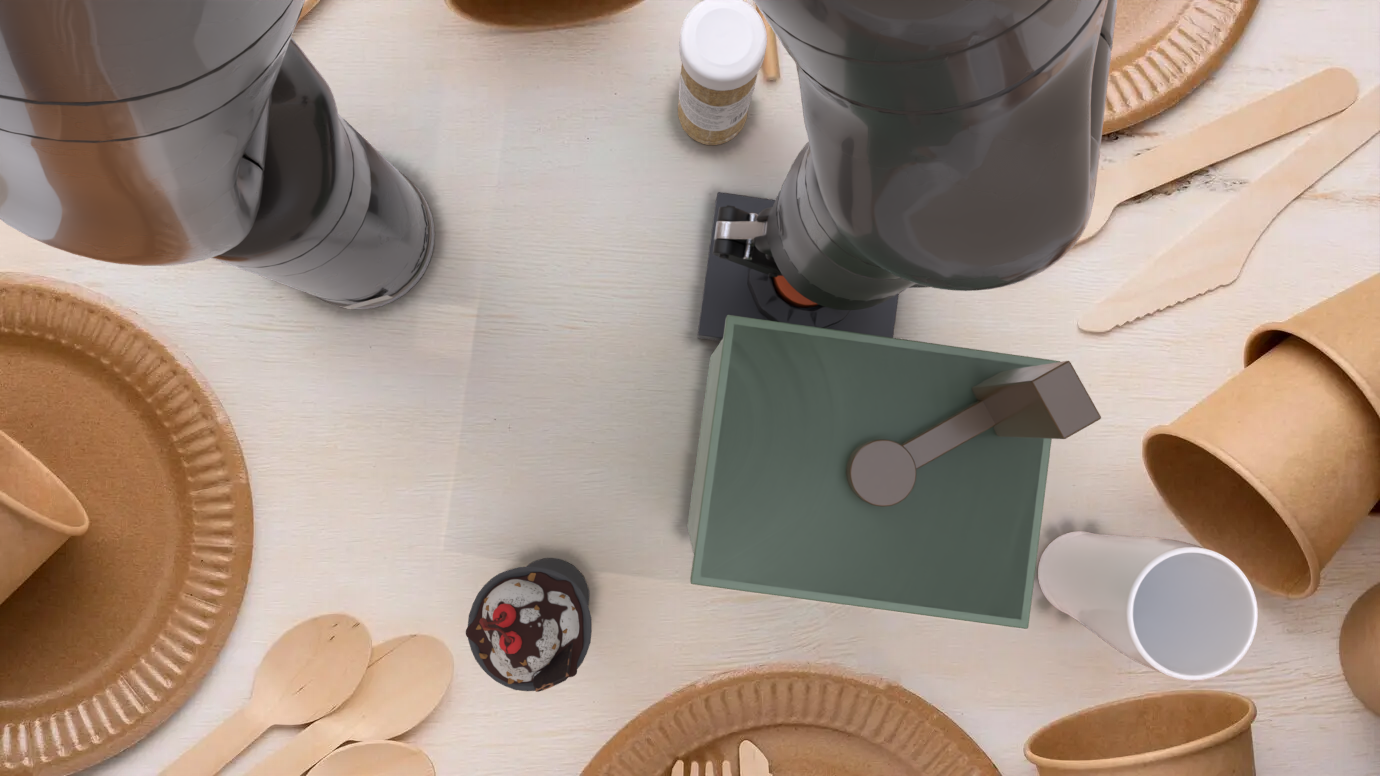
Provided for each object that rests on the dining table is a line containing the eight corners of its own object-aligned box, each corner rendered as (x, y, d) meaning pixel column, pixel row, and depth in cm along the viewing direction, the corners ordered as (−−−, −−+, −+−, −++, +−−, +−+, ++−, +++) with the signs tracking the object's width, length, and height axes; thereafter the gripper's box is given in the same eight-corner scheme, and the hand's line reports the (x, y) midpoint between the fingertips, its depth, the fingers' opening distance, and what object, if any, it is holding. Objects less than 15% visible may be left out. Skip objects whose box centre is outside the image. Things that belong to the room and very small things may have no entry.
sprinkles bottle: (717, 63, 68) (730, -26, 54) (762, 117, 68) (786, 42, 54) (662, 107, 68) (661, 29, 54) (707, 162, 68) (717, 97, 54)
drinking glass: (1054, 644, 67) (1166, 707, 52) (1004, 549, 67) (1102, 585, 52) (1147, 594, 67) (1285, 643, 52) (1097, 500, 67) (1220, 521, 52)
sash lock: (866, 516, 45) (906, 535, 37) (833, 459, 45) (868, 466, 37) (1032, 423, 45) (1105, 423, 38) (1000, 366, 45) (1067, 354, 38)
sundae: (497, 543, 66) (449, 578, 51) (604, 546, 67) (587, 582, 52) (493, 648, 66) (444, 714, 51) (600, 651, 66) (582, 718, 51)
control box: (696, 337, 67) (699, 332, 63) (715, 199, 68) (719, 184, 64) (882, 363, 67) (896, 359, 63) (900, 225, 68) (915, 212, 64)
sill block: (681, 531, 67) (690, 584, 45) (706, 350, 67) (727, 314, 45) (909, 562, 67) (1028, 629, 45) (932, 381, 67) (1062, 361, 45)
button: (768, 303, 65) (771, 300, 63) (776, 239, 65) (779, 234, 63) (832, 312, 65) (837, 309, 63) (840, 248, 65) (845, 243, 63)
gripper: (1024, 150, 46) (927, 225, 63) (725, 108, 46) (710, 194, 63) (1003, 320, 46) (911, 348, 63) (702, 278, 46) (693, 318, 63)
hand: (810, 271), depth 63 cm, fingers closed
